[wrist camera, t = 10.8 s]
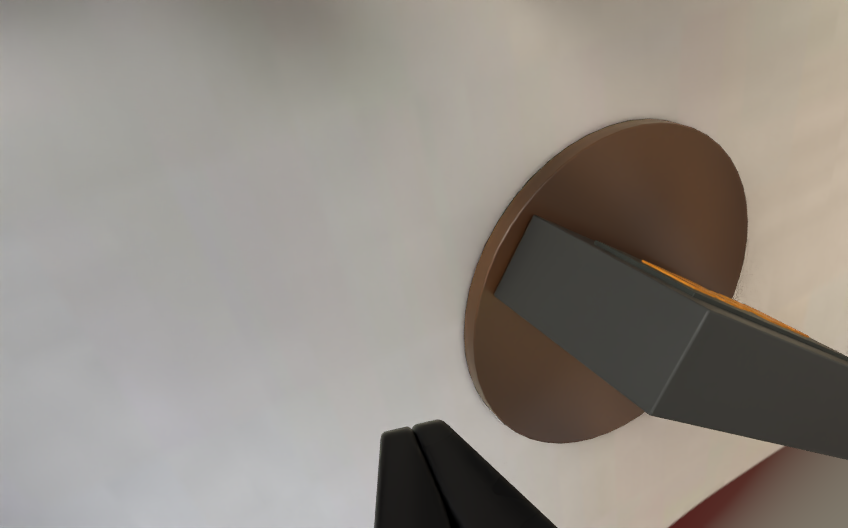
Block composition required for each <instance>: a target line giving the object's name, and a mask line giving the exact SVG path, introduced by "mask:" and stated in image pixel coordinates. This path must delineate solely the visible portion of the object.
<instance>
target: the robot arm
mask: <svg viewBox="0 0 848 528" xmlns="http://www.w3.org/2000/svg"><path fill="white" fill-rule="evenodd" d="M374 528H557V527H556V526H555V525H554V524H553V523H552V522H551V521H550V520H549V519H548V518H547V517H546V516H544V515H543V514H542V513H541V512H540V511H539V510H538V509H537V508H536V507H535V506H534V505H533V504H532V503H531V502H530V501H529V500H527V499H526V498H525V497H524V496H523V495H522V494H521V493H520V492H519V491H518V490H517V489H516V488H515V487H514V486H513V485H511V484H510V483H509V482H508V481H507V480H506V479H505V478H504V477H503V476H502V475H501V474H500V473H499V472H498V471H497V470H495V469H494V468H493V467H492V466H491V465H490V464H489V463H488V462H487V461H486V460H485V459H484V458H483V457H482V456H481V455H479V454H478V453H477V452H476V451H475V450H474V449H473V448H472V447H471V446H470V445H469V444H468V443H467V442H466V441H465V440H464V439H462V438H461V437H460V436H459V435H458V434H457V433H456V432H455V431H454V430H453V429H452V428H451V427H450V426H449V425H448V424H446V423H445V422H444V421H442V420H433V421H428V422H424V423H420V424H416V425H414V426H413V428H412V429H411V428H409V427H403V428H398V429H394V430H390V431H386V432H384V433H382V435H381V440H380V454H379V468H378V481H377V495H376V509H375V523H374Z"/></svg>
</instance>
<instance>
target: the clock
mask: <svg viewBox="0 0 848 528" xmlns="http://www.w3.org/2000/svg"><path fill="white" fill-rule="evenodd" d="M494 296H495V297H496V298H498V299H499V300H500V301H501V302H503V303H504V304H505V305H507V306H508V307H509V308H511V309H512V310H513V311H514V312H516V313H517V314H518V315H520V316H521V317H522V318H524V319H525V320H526V321H527V322H529V323H530V324H531V325H533V326H534V327H535V328H537V329H538V330H539V331H540V332H542V333H543V334H544V335H546V336H547V337H548V338H550V339H551V340H552V341H554V342H555V343H556V344H557V345H559V346H560V347H561V348H563V349H564V350H565V351H567V352H568V353H569V354H570V355H572V356H573V357H574V358H576V359H577V360H578V361H580V362H581V363H582V364H583V365H585V366H586V367H587V368H589V369H590V370H591V371H593V372H594V373H595V374H596V375H598V376H599V377H600V378H602V379H603V380H604V381H606V382H607V383H608V384H610V385H611V386H612V387H613V388H615V389H616V390H617V391H619V392H620V393H621V394H623V395H624V396H625V397H626V398H628V399H629V400H630V401H632V402H633V403H634V404H636V405H637V406H638V407H639V408H641V409H642V410H643V411H645V412H646V413H647V414H649V415H651V416H656V417H660V418H664V419H669V420H673V421H678V422H682V423H687V424H691V425H695V426H700V427H704V428H709V429H713V430H718V431H722V432H726V433H731V434H735V435H740V436H744V437H749V438H753V439H757V440H762V441H766V442H771V443H775V444H780V445H784V446H789V447H793V448H798V449H802V450H806V451H811V452H815V453H820V454H824V455H829V456H833V457H837V458H842V459H846V460H848V357H847V356H845V355H843V354H841V353H839V352H837V351H835V350H833V349H831V348H829V347H827V346H825V345H823V344H821V343H819V342H817V341H815V340H813V339H811V338H810V337H809V336H808V335H806V334H804V333H802V332H800V331H798V330H796V329H794V328H792V327H790V326H788V325H786V324H784V323H782V322H780V321H778V320H776V319H774V318H772V317H770V316H768V315H766V314H764V313H762V312H760V311H758V310H756V309H754V308H751V307H749V306H747V305H745V304H741V303H739V302H737V301H735V300H733V299H731V298H729V297H726V296H724V295H722V294H720V293H716V292H714V291H711V290H709V289H707V288H704V287H702V286H700V285H698V284H696V283H694V282H692V281H690V280H688V279H686V278H683V277H681V276H679V275H676V274H674V273H671V272H669V271H667V270H665V269H663V268H661V267H658V266H656V265H654V264H651V263H649V262H647V261H645V260H641V259H638V258H636V257H634V256H632V255H629V254H627V253H625V252H622V251H620V250H618V249H616V248H613V247H611V246H609V245H606V244H604V243H602V242H600V241H597V240H595V241H594V240H592V239H589V238H587V237H585V236H582V235H580V234H578V233H576V232H573V231H571V230H569V229H566V228H564V227H562V226H560V225H557V224H555V223H553V222H550V221H548V220H546V219H544V218H541V217H539V216H537V215H534V216H533V217H532V219H531V221H530V223H529V225H528V227H527V229H526V231H525V233H524V235H523V237H522V239H521V241H520V243H519V245H518V247H517V249H516V251H515V253H514V255H513V257H512V259H511V261H510V263H509V265H508V267H507V269H506V271H505V273H504V275H503V277H502V279H501V281H500V283H499V285H498V287H497V289H496V291H495V293H494Z"/></svg>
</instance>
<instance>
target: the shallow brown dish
mask: <svg viewBox="0 0 848 528" xmlns="http://www.w3.org/2000/svg"><path fill="white" fill-rule="evenodd" d="M534 215H537V216H539V217H541V218H544V219H546V220H548V221H550V222H553V223H555V224H557V225H560V226H562V227H564V228H566V229H569V230H571V231H573V232H576V233H578V234H580V235H582V236H585V237H587V238H589V239H592V240H594V241H595V240H597V241H600V242H602V243H604V244H606V245H609V246H611V247H613V248H616V249H618V250H620V251H622V252H625V253H627V254H629V255H632V256H634V257H636V258H638V259H641V260H645V261H647V262H649V263H651V264H654V265H656V266H658V267H661V268H663V269H665V270H667V271H669V272H671V273H674V274H676V275H679V276H681V277H683V278H686V279H688V280H690V281H692V282H694V283H696V284H698V285H700V286H702V287H704V288H707V289H709V290H711V291H714V292H716V293H720V294H722V295H724V296H726V297H729V298H731V299H732V298H733V295H734V292H735V289H736V286H737V283H738V280H739V277H740V273H741V269H742V265H743V261H744V256H745V249H746V243H747V227H748V218H747V204H746V199H745V193H744V188H743V185H742V182H741V179H740V177H739V174H738V171H737V169H736V168H735V166H734V164H733V162H732V160H731V158H730V157H729V156H728V155H727V153H726V152H725V151H724V150H723V149H722V147H721V146H720V145H719V144H718V143H716V142H715V141H714V140H713V139H711V138H710V137H709V136H708V135H706V134H704V133H702V132H700V131H698V130H696V129H694V128H692V127H688V126H684V125H681V124H677V123H674V122H670V121H666V120H657V119H641V120H630V121H626V122H622V123H618V124H614V125H611V126H608V127H605V128H603V129H600V130H598V131H596V132H593V133H591V134H589V135H587V136H585V137H584V138H582V139H580V140H579V141H577V142H575V143H573V144H572V145H570V146H568V147H567V148H566V149H564V150H563V151H562V152H560V153H559V154H558V155H557V156H555V157H554V158H553V159H551V160H550V161H549V162H548V163H547V164H546V165H545V166H544V167H542V168H541V169H540V170H539V171H538V172H537V173H536V174H535V175H534V176H533V177H532V178H531V179H530V180H529V181H528V182H527V184H526V185H525V186H524V187H523V188H522V190H521V191H520V192H519V193H518V194H517V195H516V197H515V198H514V199H513V200H512V202H511V203H510V205H509V206H508V208H507V209H506V211H505V212H504V214H503V215H502V216H501V218H500V219H499V221H498V223H497V225H496V226H495V228H494V230H493V232H492V234H491V236H490V237H489V239H488V241H487V243H486V245H485V248H484V250H483V252H482V255H481V257H480V259H479V262H478V264H477V267H476V270H475V273H474V277H473V280H472V283H471V286H470V290H469V295H468V301H467V306H466V312H465V327H464V340H465V354H466V359H467V363H468V368H469V372H470V375H471V378H472V380H473V383H474V385H475V388H476V390H477V392H478V393H479V395H480V396H481V398H482V400H483V401H484V403H485V404H486V405H487V406H488V407H489V409H490V410H491V411H492V412H493V413H494V414H495V415H496V416H497V417H498V418H499V419H500V420H501V421H502V422H503V423H504V424H505V425H506V426H508V427H509V428H511V429H512V430H513V431H515V432H516V433H518V434H521V435H523V436H525V437H527V438H529V439H533V440H537V441H541V442H547V443H572V442H579V441H583V440H588V439H592V438H595V437H598V436H601V435H604V434H606V433H609V432H611V431H613V430H615V429H617V428H619V427H621V426H623V425H625V424H627V423H628V422H630V421H632V420H633V419H635V418H637V417H638V416H640V415H641V414H643V413H644V412H645V411H643V410H642V409H641V408H639V407H638V406H637V405H636V404H634V403H633V402H632V401H630V400H629V399H628V398H626V397H625V396H624V395H623V394H621V393H620V392H619V391H617V390H616V389H615V388H613V387H612V386H611V385H610V384H608V383H607V382H606V381H604V380H603V379H602V378H600V377H599V376H598V375H596V374H595V373H594V372H593V371H591V370H590V369H589V368H587V367H586V366H585V365H583V364H582V363H581V362H580V361H578V360H577V359H576V358H574V357H573V356H572V355H570V354H569V353H568V352H567V351H565V350H564V349H563V348H561V347H560V346H559V345H557V344H556V343H555V342H554V341H552V340H551V339H550V338H548V337H547V336H546V335H544V334H543V333H542V332H540V331H539V330H538V329H537V328H535V327H534V326H533V325H531V324H530V323H529V322H527V321H526V320H525V319H524V318H522V317H521V316H520V315H518V314H517V313H516V312H514V311H513V310H512V309H511V308H509V307H508V306H507V305H505V304H504V303H503V302H501V301H500V300H499V299H498V298H496V297H495V296H494V293H495V291H496V289H497V287H498V285H499V283H500V281H501V279H502V277H503V275H504V273H505V271H506V269H507V267H508V265H509V263H510V261H511V259H512V257H513V255H514V253H515V251H516V249H517V247H518V245H519V243H520V241H521V239H522V237H523V235H524V233H525V231H526V229H527V227H528V225H529V223H530V221H531V219H532V217H533V216H534Z"/></svg>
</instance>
